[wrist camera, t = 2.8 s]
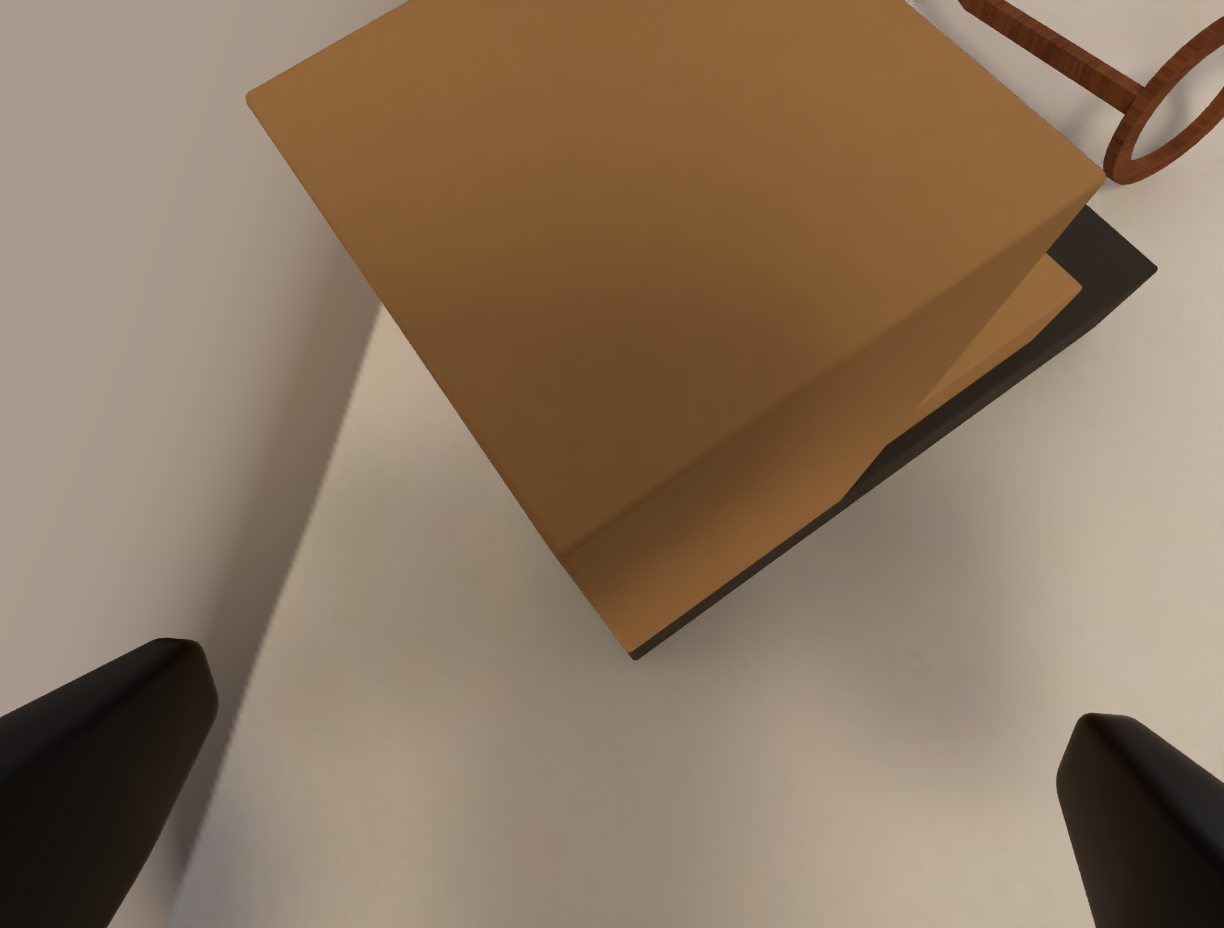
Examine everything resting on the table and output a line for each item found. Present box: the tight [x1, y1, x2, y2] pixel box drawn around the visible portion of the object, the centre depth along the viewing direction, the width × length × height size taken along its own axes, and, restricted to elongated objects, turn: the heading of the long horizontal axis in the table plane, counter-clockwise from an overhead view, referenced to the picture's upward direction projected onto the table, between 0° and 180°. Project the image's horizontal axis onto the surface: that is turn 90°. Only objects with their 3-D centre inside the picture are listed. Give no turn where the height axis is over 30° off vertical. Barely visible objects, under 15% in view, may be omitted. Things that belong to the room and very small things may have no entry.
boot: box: [246, 0, 1158, 660], centre depth 14 cm, size 16×6×14 cm, turn 125°
